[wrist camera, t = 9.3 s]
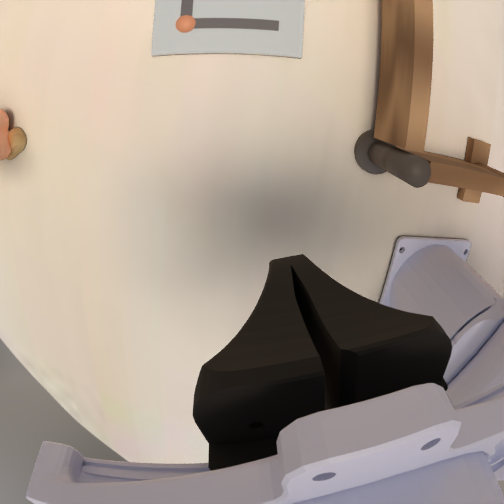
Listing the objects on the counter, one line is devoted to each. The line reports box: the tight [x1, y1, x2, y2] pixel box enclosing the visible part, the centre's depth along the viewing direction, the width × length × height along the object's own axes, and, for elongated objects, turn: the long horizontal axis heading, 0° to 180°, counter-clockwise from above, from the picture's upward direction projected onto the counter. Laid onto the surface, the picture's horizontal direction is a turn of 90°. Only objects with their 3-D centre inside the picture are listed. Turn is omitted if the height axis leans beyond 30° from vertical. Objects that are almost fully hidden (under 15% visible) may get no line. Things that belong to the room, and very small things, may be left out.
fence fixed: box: [355, 130, 504, 203], centre depth 17 cm, size 5×12×6 cm, turn 87°
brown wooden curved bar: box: [369, 0, 433, 188], centre depth 14 cm, size 14×2×5 cm, turn 177°
